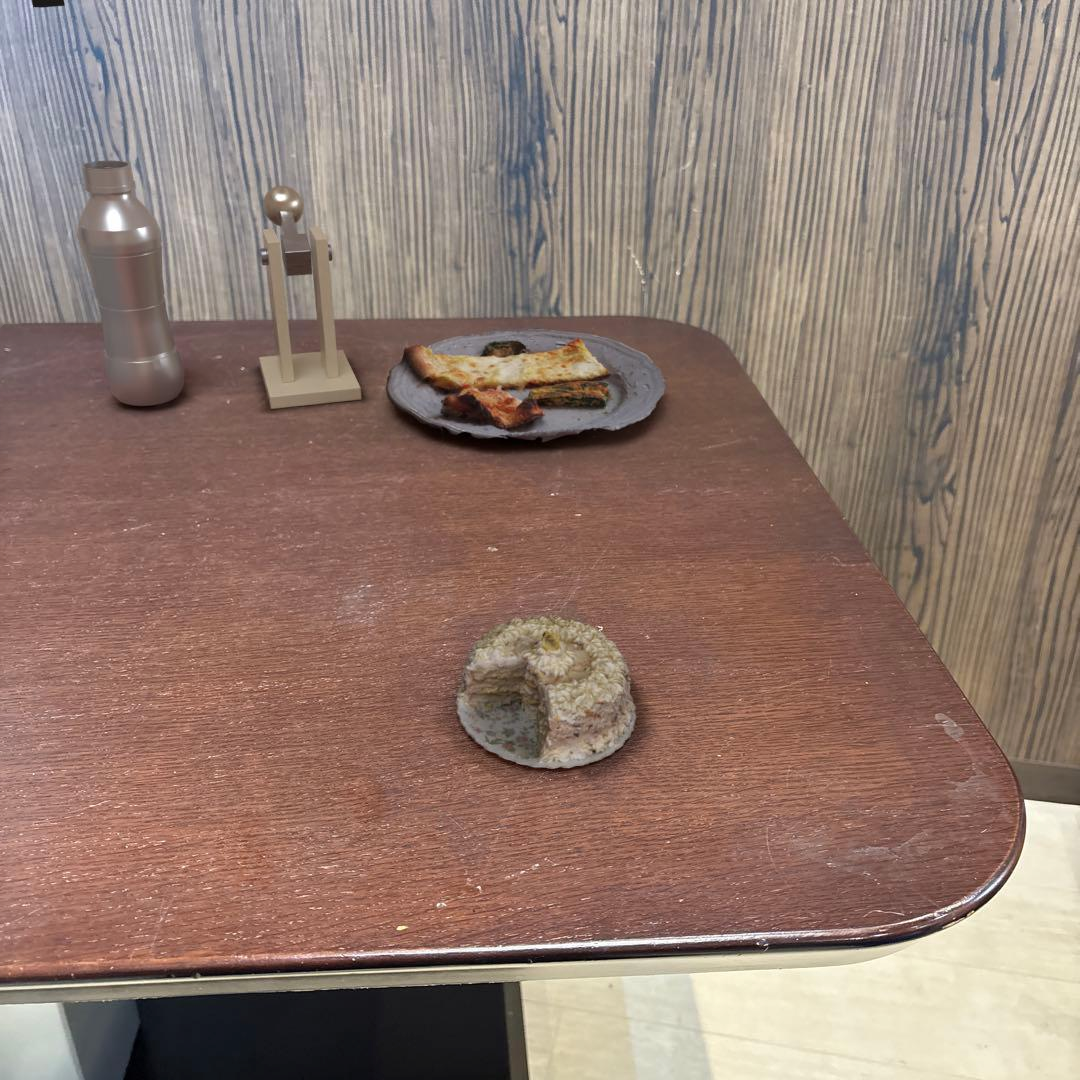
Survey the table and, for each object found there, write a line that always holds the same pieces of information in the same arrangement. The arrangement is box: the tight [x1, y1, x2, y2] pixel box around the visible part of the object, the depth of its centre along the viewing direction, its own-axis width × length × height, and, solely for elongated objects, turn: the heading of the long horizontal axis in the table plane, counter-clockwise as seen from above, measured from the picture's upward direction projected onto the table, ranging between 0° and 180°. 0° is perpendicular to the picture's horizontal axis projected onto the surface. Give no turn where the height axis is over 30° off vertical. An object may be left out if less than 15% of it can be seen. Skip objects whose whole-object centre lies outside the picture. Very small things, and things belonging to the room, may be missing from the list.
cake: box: [454, 613, 637, 770], centre depth 54 cm, size 10×10×5 cm
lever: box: [262, 185, 313, 277], centre depth 90 cm, size 11×4×4 cm, turn 19°
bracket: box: [258, 225, 362, 410], centre depth 90 cm, size 10×8×14 cm
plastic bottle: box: [76, 160, 185, 407], centre depth 84 cm, size 6×7×20 cm
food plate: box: [385, 327, 666, 443], centre depth 91 cm, size 25×23×4 cm
